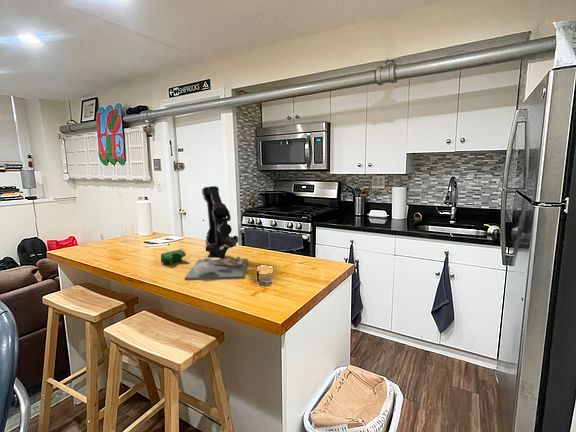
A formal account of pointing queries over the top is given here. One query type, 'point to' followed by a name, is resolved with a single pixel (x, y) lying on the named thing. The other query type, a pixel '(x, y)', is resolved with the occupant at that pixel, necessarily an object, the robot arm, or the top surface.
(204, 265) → the block
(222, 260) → the link
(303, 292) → the top surface
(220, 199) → the robot arm
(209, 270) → the board
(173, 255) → the clamp
